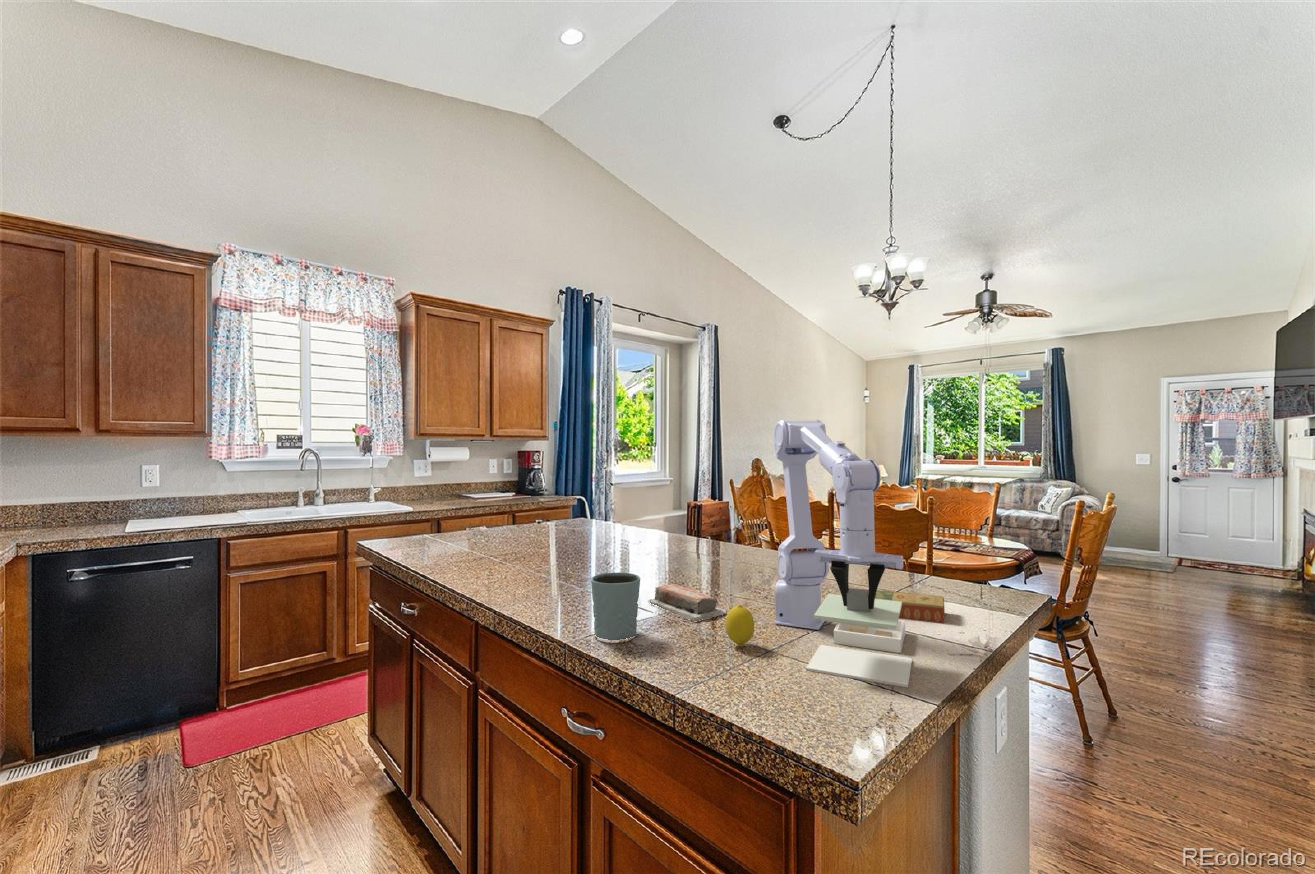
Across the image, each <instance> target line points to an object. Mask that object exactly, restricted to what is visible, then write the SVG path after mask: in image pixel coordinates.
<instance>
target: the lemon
mask: <svg viewBox="0 0 1315 874" xmlns="http://www.w3.org/2000/svg"><path fill="white" fill-rule="evenodd" d="M754 621H755V620H754V617H753V613H752V612H751V611H750V610H749V609H748V608H747V607H745V606H743V605H742V604H737V605H735V606H734V607H732V608H731V609H730V610H729V611H727V614H726V618H725V631H726V635H727V637H728V638H729V639H730V641H732V642H733V643H735V644H737V646H739V647H742V646H744V644H746V643H748V642H749V641H750V640H751V639H752V638H753V636H754V633H755V622H754Z"/></svg>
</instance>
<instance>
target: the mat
mask: <svg viewBox="0 0 1315 874" xmlns="http://www.w3.org/2000/svg"><path fill="white" fill-rule="evenodd" d="M912 663H913V658H910V657H904V656H897V655H891V654H883V653H878V652H870V651H864V650H858V649H851V648H845V647H844V648H843V647H838V646H830V645H824V644H819V646H818V648H817V649H816V651H815V653H814V654H813V657H811V659H810V661H809V663H808V664H807V665H806V667H805V669H806V670H805V671H810V672H815V673H820V674H827V675H833V676H837V677H844V678H850V679H856V680H860V681H861V680H862V681H867V682H874V683H879V684H884V685H885V684H886V685H890V686H896V687H901V688H909V683H910V676H911V670H912Z"/></svg>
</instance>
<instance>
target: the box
mask: <svg viewBox="0 0 1315 874" xmlns="http://www.w3.org/2000/svg"><path fill="white" fill-rule="evenodd" d="M905 637H906V621H905V620H903V619H899V620H898V625H897V629H891V628H887V629H883V628H875V627H867V626H860V625H852V624H844V623H837V624H836V626H835V628H834V629H833V644H835V645H843V646H850V647H857V648H865V649H870V650H876V651H884V652H890V653H898V654H902V650H903V645H904V641H905Z"/></svg>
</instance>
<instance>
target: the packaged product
mask: <svg viewBox="0 0 1315 874" xmlns="http://www.w3.org/2000/svg"><path fill="white" fill-rule="evenodd" d="M654 592H655V594H654V599H653V598H650V599H649V604H650V603H651V604H654V605H657V606H659V607H661V608H663V609H665V610H669V611H670V612H672V613H674V614H678V615H680V616H682V617H684V618H686V619H690V620H692V621H699V620H702V619H706V620H708V619H707V618H711V619H713V618H712V617H714V618H716V617H715V616H718V617H720V616H719V615H722V614H726V615H727V614H728V610H726V609H722V608H720V607H716V606H717V603H718V599H717V598H715V597H713V596H710V595H708V594H704V593H702V592H699V591H696V590H693V589H691V588H688V587H685V586H682V585H679V584H675V583H669V584H664V585H660V586H657V587H655V590H654ZM722 616H723V615H722ZM684 618H683V619H684ZM686 619H685V620H686ZM699 622H700V621H699Z"/></svg>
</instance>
